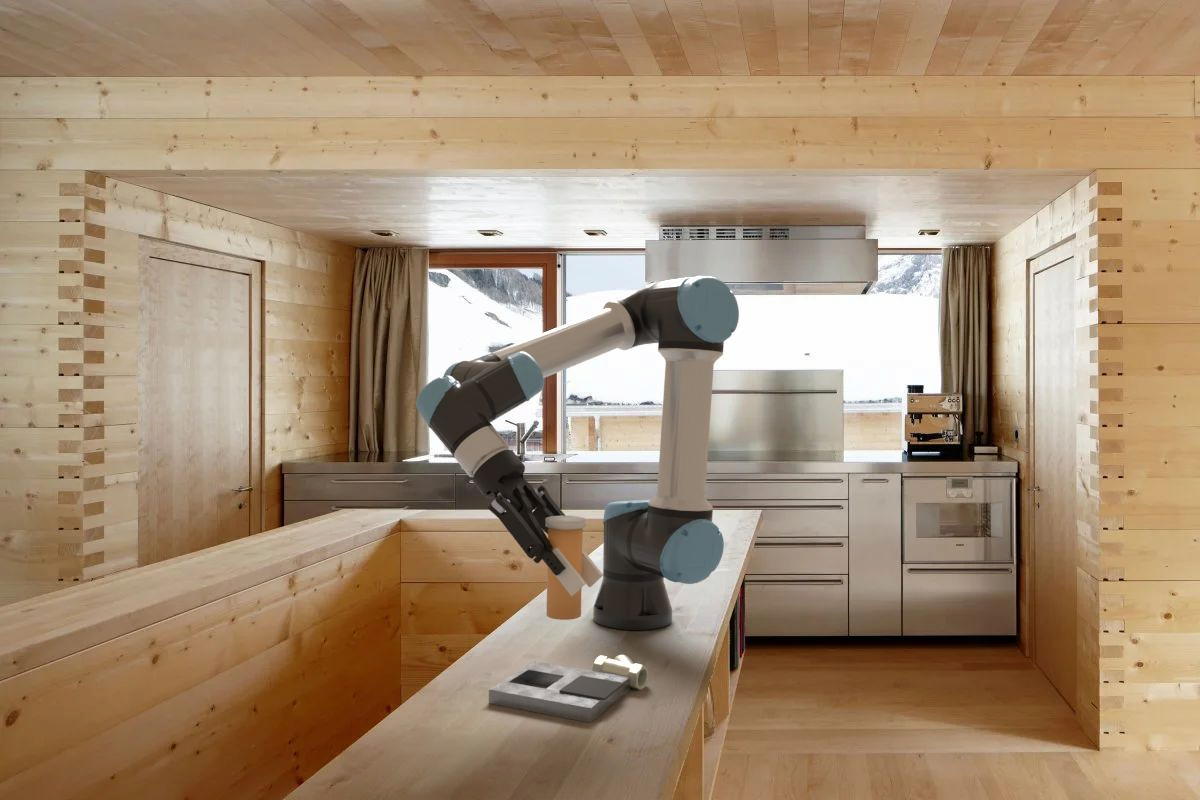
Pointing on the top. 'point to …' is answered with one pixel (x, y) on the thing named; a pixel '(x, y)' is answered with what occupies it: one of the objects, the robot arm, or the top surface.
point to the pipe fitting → (623, 669)
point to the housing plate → (554, 692)
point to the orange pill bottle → (569, 541)
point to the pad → (592, 687)
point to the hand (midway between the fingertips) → (587, 585)
